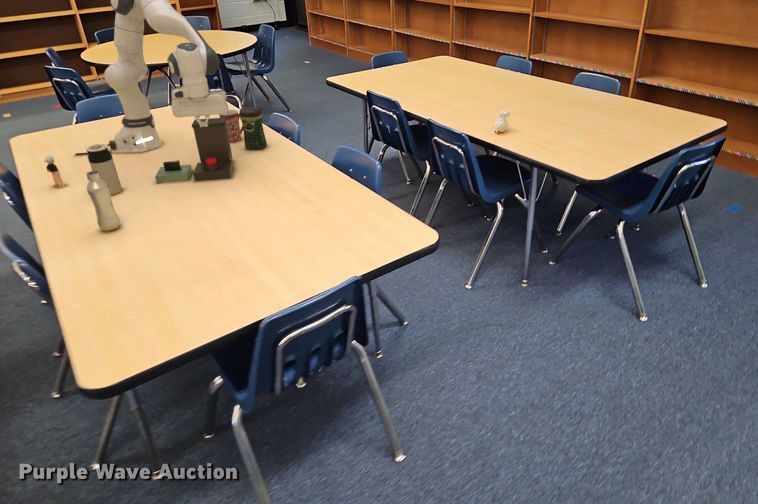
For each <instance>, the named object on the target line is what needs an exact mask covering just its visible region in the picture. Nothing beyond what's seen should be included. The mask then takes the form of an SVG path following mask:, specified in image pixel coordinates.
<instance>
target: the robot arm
mask: <svg viewBox="0 0 758 504" xmlns="http://www.w3.org/2000/svg"><path fill="white" fill-rule="evenodd" d="M110 6H111V8H112V10H113V11H114V12H115V17H114V31H113V32H114V33H113V44H114V46H115V47H116V50H117V53H118V58H117V61H115V62H113V63H111V64H110V65H108V66H107V68H106V69H105V70H104V74H103V77H104V81H105V83H106V84H107V85H108V86H109V87H110V88H111V89H113V90H114V92H115V94H116V95H117V97H118V99H119V102H120V104H121V106H122V111H123V113H124V116H123V117H122V119H121V121H120V123H121V124H122V125H123V126H121V128H120V129H119V130H118V131H117V132H116V134H115V135H114V138H113V139H112V140H109V141H108V144H107V143H106V144H107V145H108V147H109V148H110V153H111V154H112V153H113V154H120V153H123V154H124V153H125V154H126V153H127V154H129V153H130V154H131V153H134V154H135V153H145V152H147V151H150V150H153V149H156V148H159V147H161V146H162V145H163V142H162V140H161V138H160V136H159V134H158V130H157V129H156V123H155V118H154V116H153V114H152V112H151V108H150V104H149V100H148V98H147V96H146V95H145V94H143V92H142V90H141V89H140V87H139V83H140V82H142V81H143V80H144V79H145V78H146V76H147V73H148V71H149V70H148V69H149V68H148V65H147V63H146V62H145V57H144V48H143V47H144V32H145V20H146V22H147V24H148V26H150V28H151V29H153V30H154V31H155V32H157V33H158V34H162V35H169V36H176V37H180V38H183V39H185V40H187V41H188V42H180V43H179V44H178V45H176V48H175V51H172V52H171V53H170V54H169V55H168V57H167V59H166V61H167V65H168V68H169V73H170V74H171V75H172V76H173V77H175V78H177V79H182V80H181V81H182V83H181V84H182V85H181V86H179V87H176V88H175V89H174V90H172V92H171V98H172V100H171V111H172V115H173V117H174V118H188V117H194V120H195V119H196V120H197V122H198V123H199V125H200V127H208V119H210V116H215V115H217V116H219V114H226V113H227V112H228V110H229V105H228V101H227V98H228V97H227V92H226V91H225V90H224V89H222V88H209V84H208V78H207V77H206V76H213V75H215V74H216V73H217V71H218V70H219V68H220V58H219V56H218V54H217V52H216V50H214V49H213V48H212V47H211V45H209V43H207V41H206V40H205V38H204V37H203V36H202V35H201V33H200V32H199V31H198V29H197V28H196V27H195V25H194V23H192V22H191V20H190V19H189V18H188V17H186V16H184V15H182V14H181V13H179V11H177V10H176V9H174V7H173V6H172V4H171V2H170V1H169V0H110ZM202 116H204V119H206V121H203V122H202V121H201V120H200V119H201V118H200V117H202ZM74 155H75V156H84V155H86V156H87V155H88V152H87V151H86V152H77V153H74Z"/></svg>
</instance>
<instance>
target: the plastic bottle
mask: <svg viewBox="0 0 758 504" xmlns="http://www.w3.org/2000/svg"><path fill="white" fill-rule="evenodd" d="M85 175H86V178H87V181H88V183H87V185H86V192H87V194H88V197H89V198H90V200H91V202H92V204H93V207H94V210H95V215H96V221H97V226H98V227H99V229H100V230H102V231H105V232H109V231H113V230H117V229H118V228H119V227H120V224H121V219H120V218H119V217H120V216H119V215H118V213H117V212H116V210H115V206H114V204H113V201H112V195H110V188H109V185H108V184H107V183H106V182H105V181H104V180H102V179H101V175H100V173H99V171H92V170H91V171H88V172H86V173H85Z"/></svg>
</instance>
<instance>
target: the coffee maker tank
mask: <svg viewBox="0 0 758 504" xmlns="http://www.w3.org/2000/svg"><path fill="white" fill-rule="evenodd" d="M199 119H200V120H201V121H202V122H203V121H206V119H207V118H199ZM191 128H192V129H193V134H194V139H195V143H196V148H197V152H198V157H199V161H200V163H203V162H206V159H208V158H216V161H229V160H232V163H233V164H234V159H233V154H232V149H231V142H229V137H228V132H227V126H226V117H224V118H220V117H213V118H210V117H209V119H208V127H200V125H199V123H198V122H197V120H196V119H195V118H194V119H193V122H192V124H191Z"/></svg>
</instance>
